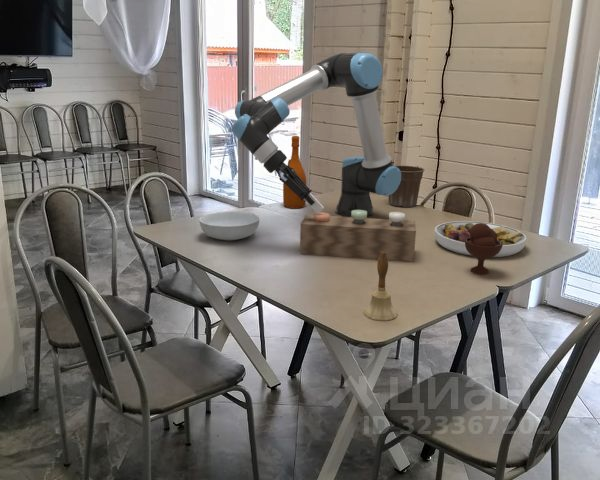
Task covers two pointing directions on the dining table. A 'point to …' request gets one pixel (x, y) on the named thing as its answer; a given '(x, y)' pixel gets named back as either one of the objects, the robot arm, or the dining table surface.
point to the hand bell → (381, 296)
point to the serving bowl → (229, 225)
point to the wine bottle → (288, 195)
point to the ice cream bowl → (482, 246)
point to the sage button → (359, 216)
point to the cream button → (396, 218)
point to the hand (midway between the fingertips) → (320, 210)
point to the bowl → (457, 231)
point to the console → (358, 238)
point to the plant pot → (407, 187)
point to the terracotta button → (321, 217)
